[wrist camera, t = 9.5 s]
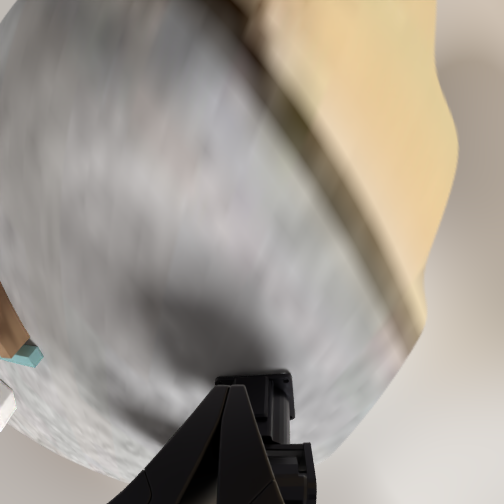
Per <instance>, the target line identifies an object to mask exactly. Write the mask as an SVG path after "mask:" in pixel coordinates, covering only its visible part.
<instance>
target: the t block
mask: <svg viewBox="0 0 504 504" xmlns="http://www.w3.org/2000/svg"><path fill="white" fill-rule="evenodd" d="M29 338H30V336H29V334H28V333H27V331H26V329H25V328H24V326H23V324H22V322H21V321H20V319H19V317H18V315H17V313H16V312H15V310H14V308H13V306H12V304H11V302H10V300H9V298H8V296H7V294H6V292H5V290H4V288H3V286H2V284H1V282H0V356H1V358H10V359H11V358H12V357H13V356H14V355H15V354H16V353H17V351H18V350H19V349H20V348H21V347H22V346H23V345H24V344H25V342H26V341H27V340H28V339H29Z"/></svg>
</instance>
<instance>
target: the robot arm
mask: <svg viewBox="0 0 504 504" xmlns="http://www.w3.org/2000/svg"><path fill="white" fill-rule="evenodd" d="M284 379H287V380H284ZM215 385H216V386H215V387H214V388H213V389H212V390H211V391H210V393H209V394H208V395H207V396H206V397H205V399H204V400H203V401H202V402H201V403H200V405H199V406H198V407H197V408H196V409H195V411H194V412H193V413H192V414H191V415H190V417H189V418H188V419H187V420H186V421H185V423H184V424H183V425H182V426H181V427H180V428H179V430H178V431H177V432H176V433H175V434H174V435H173V437H172V438H171V439H170V440H169V441H168V442H167V443H166V445H165V446H164V447H163V448H162V449H161V450H160V451H159V453H158V454H157V455H156V456H155V457H154V458H153V459H152V460H151V461H150V463H149V464H148V465H147V466H146V467H145V468H144V469H145V470H142V471H141V472H140V473H139V474H138V476H137V477H136V478H135V479H134V480H133V481H132V482H131V483H130V484H129V485H128V486H127V487H126V488H125V489H124V490H123V491H122V492H120V493H119V494H118V495H117V496H116V497H115V498H113V499H112V500H111V501H110V502H109V503H107V504H316V493H317V491H316V490H317V489H316V476H315V469H314V463H313V456H312V450H311V443H303V444H290V420H292V419H294V418H295V409H294V396H293V384H292V376H291V375H290V374H276V375H259V376H234V377H217V378H216V380H215Z"/></svg>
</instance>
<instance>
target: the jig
mask: <svg viewBox="0 0 504 504" xmlns="http://www.w3.org/2000/svg"><path fill="white" fill-rule="evenodd" d="M42 358H43V355H42V354H41V352H40V350H39V348H38V347H36V346H29V345H23V346H22V347H21V348H20V349H19V350H18V351H17V353H16V354H15V355H14V356H13V357H12V358H11V359H10V358H1V356H0V359H2V360H5V361H9V362H13V363H17V364H21V365H25V366H29V367H34V368H35V367H36V366H37V365H38V363H39V362H40V361H41V359H42Z"/></svg>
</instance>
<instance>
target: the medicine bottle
mask: <svg viewBox="0 0 504 504" xmlns="http://www.w3.org/2000/svg"><path fill="white" fill-rule="evenodd" d="M16 408H17V406H16V402H15V398H14V393H13V390H12V389H11V388H9V387H8V386H7V385H6V384H5V383H3V382H2V381H1V380H0V432H1V431H2V429H3V427H4V426H5V425H6V423H7V422H8V420H9V419H10V417H11V416H12V414H13V413H14V411H15V410H16Z"/></svg>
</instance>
